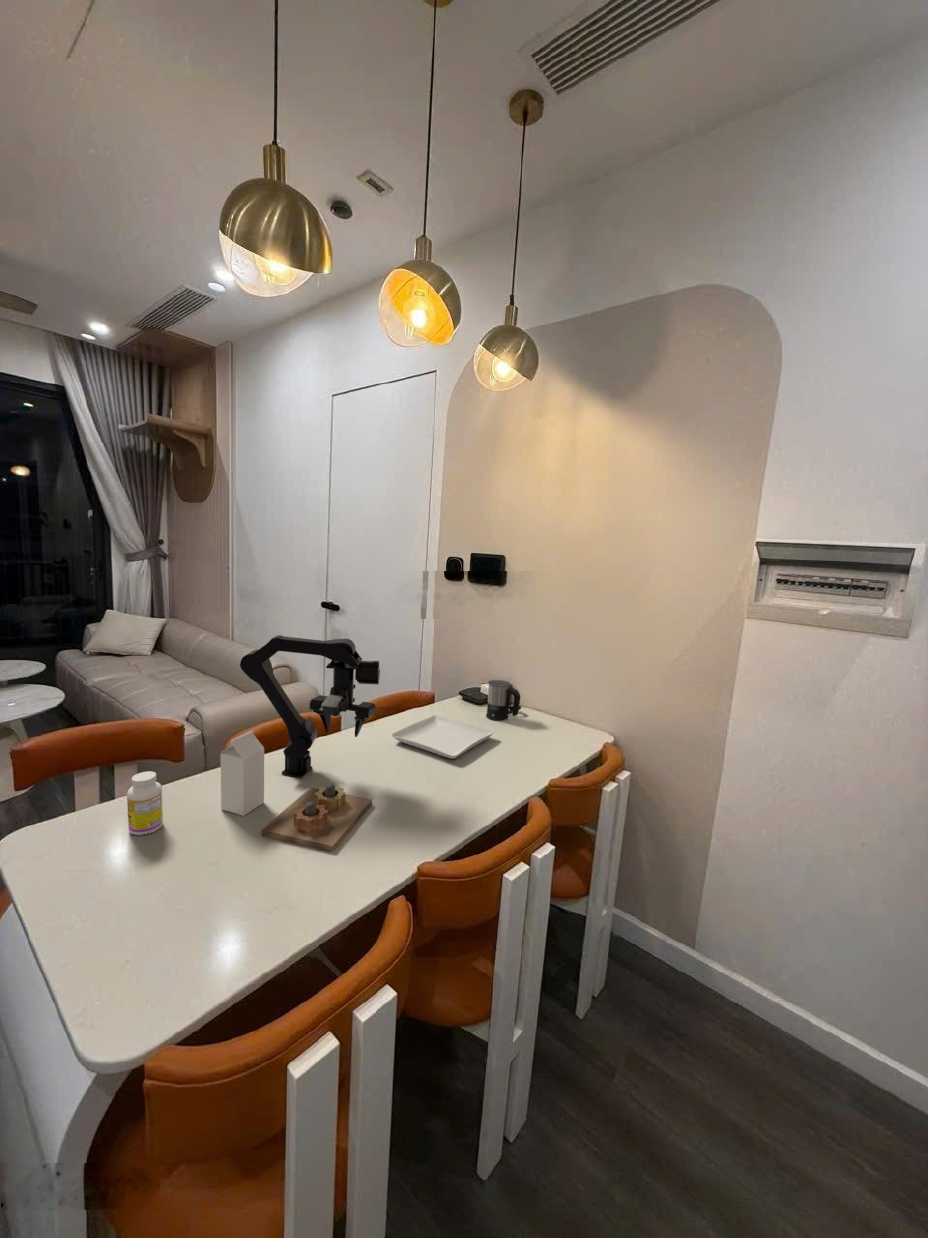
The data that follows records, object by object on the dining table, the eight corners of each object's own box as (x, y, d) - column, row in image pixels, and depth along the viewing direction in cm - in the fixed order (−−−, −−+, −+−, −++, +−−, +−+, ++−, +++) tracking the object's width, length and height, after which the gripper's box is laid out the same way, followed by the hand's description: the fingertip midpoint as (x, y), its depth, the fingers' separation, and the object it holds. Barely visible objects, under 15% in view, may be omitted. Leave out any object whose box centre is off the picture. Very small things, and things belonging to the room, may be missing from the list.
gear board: (261, 835, 110) (261, 809, 109) (311, 792, 131) (311, 769, 130) (332, 852, 106) (333, 825, 105) (372, 804, 127) (373, 781, 126)
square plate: (494, 740, 175) (495, 730, 174) (453, 767, 152) (454, 755, 151) (434, 722, 189) (435, 712, 188) (388, 743, 166) (389, 733, 165)
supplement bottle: (132, 822, 112) (130, 771, 110) (165, 818, 115) (164, 767, 113) (125, 839, 106) (122, 784, 104) (159, 834, 109) (158, 781, 107)
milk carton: (264, 803, 124) (264, 733, 121) (243, 817, 117) (243, 743, 114) (242, 796, 126) (242, 728, 123) (220, 810, 120) (220, 737, 117)
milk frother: (484, 719, 194) (486, 684, 192) (488, 707, 210) (491, 674, 208) (519, 724, 192) (522, 688, 190) (521, 711, 207) (524, 678, 205)
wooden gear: (309, 808, 120) (309, 797, 119) (324, 794, 127) (324, 783, 127) (336, 814, 118) (336, 803, 118) (350, 799, 125) (350, 789, 125)
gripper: (298, 686, 133) (298, 739, 135) (360, 695, 129) (358, 750, 131) (319, 676, 144) (318, 725, 146) (377, 684, 139) (375, 735, 142)
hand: (341, 734), depth 141 cm, fingers open, 9 cm apart
